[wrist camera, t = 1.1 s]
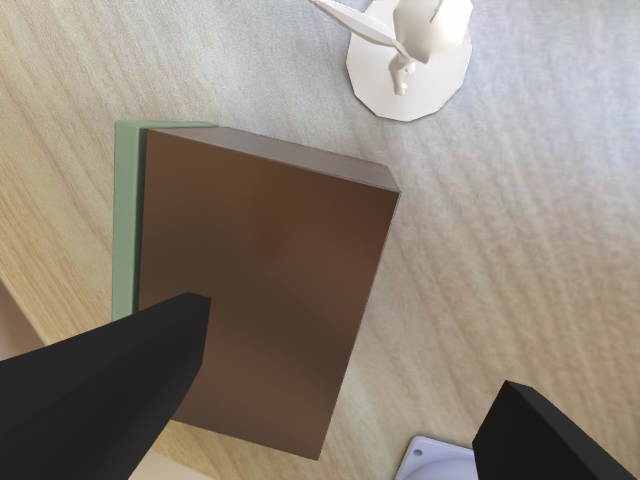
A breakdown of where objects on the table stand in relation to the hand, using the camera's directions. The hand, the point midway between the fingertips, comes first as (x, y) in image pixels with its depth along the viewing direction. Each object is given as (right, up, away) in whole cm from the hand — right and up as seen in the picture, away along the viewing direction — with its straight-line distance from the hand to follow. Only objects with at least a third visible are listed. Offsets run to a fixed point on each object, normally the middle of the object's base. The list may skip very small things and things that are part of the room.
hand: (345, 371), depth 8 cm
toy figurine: (+2, +12, +7) cm, 14 cm away
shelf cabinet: (-2, +2, +10) cm, 11 cm away
